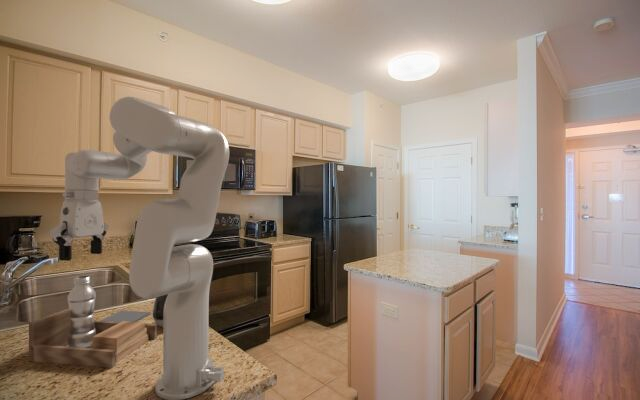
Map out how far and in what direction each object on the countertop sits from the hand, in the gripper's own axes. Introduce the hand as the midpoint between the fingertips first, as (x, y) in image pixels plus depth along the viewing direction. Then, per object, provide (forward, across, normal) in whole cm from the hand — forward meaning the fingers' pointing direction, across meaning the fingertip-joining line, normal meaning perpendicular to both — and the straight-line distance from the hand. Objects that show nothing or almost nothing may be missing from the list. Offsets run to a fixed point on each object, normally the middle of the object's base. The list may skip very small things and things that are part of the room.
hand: (81, 256), depth 87 cm
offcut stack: (+26, 0, -13) cm, 29 cm away
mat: (+26, +20, +3) cm, 33 cm away
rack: (+26, 0, -6) cm, 26 cm away
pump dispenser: (+26, +18, -16) cm, 35 cm away
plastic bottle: (+26, 0, -1) cm, 26 cm away
